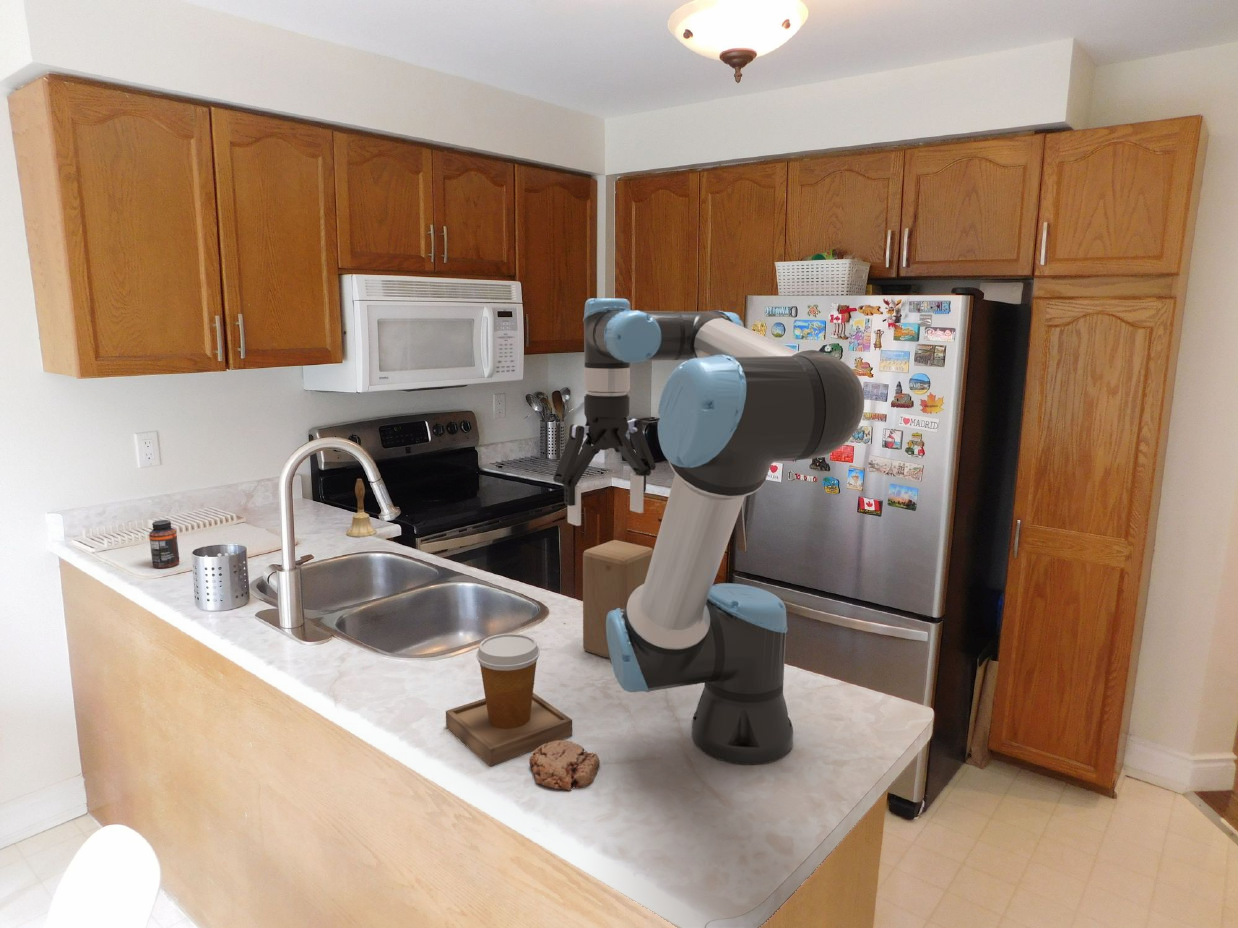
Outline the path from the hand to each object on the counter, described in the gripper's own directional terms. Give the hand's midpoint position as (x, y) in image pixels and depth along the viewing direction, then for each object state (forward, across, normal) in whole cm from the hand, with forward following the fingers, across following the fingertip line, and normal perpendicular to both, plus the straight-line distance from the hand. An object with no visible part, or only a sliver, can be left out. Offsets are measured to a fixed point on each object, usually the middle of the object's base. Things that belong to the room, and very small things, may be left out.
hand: (606, 517), depth 138 cm
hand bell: (+29, -3, -116) cm, 119 cm away
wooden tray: (+29, +24, +6) cm, 38 cm away
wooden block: (+29, -9, -7) cm, 31 cm away
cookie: (+29, +24, +20) cm, 42 cm away
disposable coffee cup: (+27, +24, +6) cm, 36 cm away
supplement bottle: (+29, +47, -117) cm, 129 cm away
